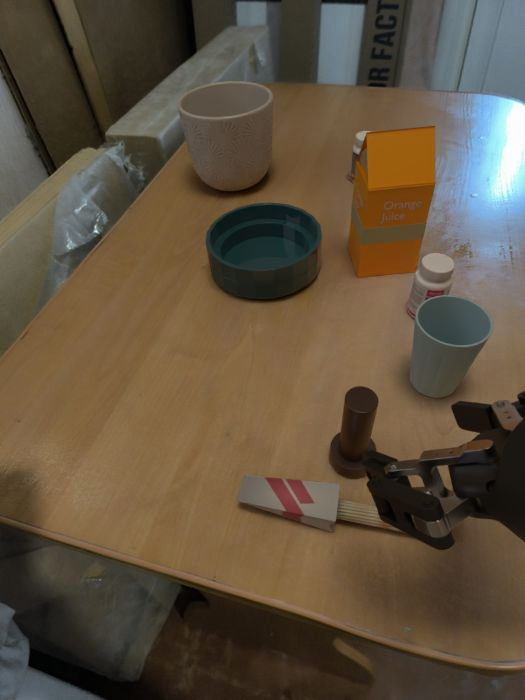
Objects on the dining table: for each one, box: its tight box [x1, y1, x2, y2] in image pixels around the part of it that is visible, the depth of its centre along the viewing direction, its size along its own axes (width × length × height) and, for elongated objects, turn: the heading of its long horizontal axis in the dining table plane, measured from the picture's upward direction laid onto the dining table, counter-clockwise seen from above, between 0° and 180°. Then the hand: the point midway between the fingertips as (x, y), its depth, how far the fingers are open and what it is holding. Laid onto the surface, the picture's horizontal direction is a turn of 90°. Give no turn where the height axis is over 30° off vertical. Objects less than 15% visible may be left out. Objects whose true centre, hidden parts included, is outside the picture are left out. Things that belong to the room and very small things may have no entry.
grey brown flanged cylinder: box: [328, 385, 379, 479], centre depth 45 cm, size 5×5×11 cm
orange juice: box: [347, 125, 437, 278], centre depth 64 cm, size 8×9×20 cm
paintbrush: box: [236, 474, 405, 534], centre depth 44 cm, size 4×3×20 cm
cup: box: [409, 294, 494, 399], centre depth 51 cm, size 8×8×10 cm
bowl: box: [204, 202, 323, 300], centre depth 70 cm, size 17×17×6 cm
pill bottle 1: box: [349, 130, 373, 184], centre depth 85 cm, size 5×5×8 cm
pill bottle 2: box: [406, 252, 456, 320], centre depth 60 cm, size 5×5×8 cm
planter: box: [176, 80, 274, 192], centre depth 85 cm, size 17×17×15 cm
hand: (415, 438), depth 35 cm, fingers open, 8 cm apart
